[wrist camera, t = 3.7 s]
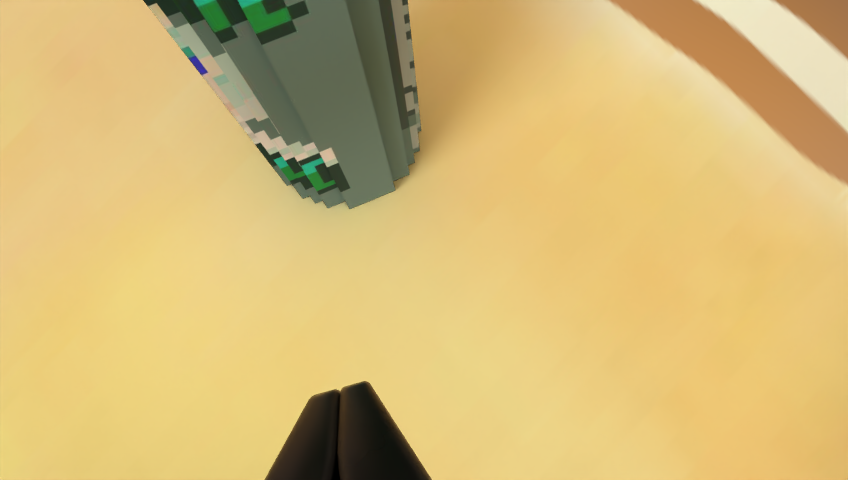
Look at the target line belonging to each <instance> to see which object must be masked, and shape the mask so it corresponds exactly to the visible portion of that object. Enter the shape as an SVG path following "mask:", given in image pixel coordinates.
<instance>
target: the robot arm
mask: <svg viewBox="0 0 848 480" xmlns="http://www.w3.org/2000/svg"><path fill="white" fill-rule="evenodd" d="M265 480H432V479H431V478H430V476H429V475H428V473H427V471H426V470H425V468H424V467H423V465H422V464H421V462H420V461H419V459H418V457H417V456H416V454H415V453H414V451H413V450H412V448H411V447H410V445H409V444H408V442H407V440H406V439H405V437H404V436H403V434H402V433H401V431H400V430H399V428H398V426H397V425H396V423H395V422H394V420H393V419H392V417H391V416H390V414H389V412H388V411H387V409H386V408H385V406H384V405H383V403H382V402H381V400H380V398H379V397H378V395H377V394H376V392H375V391H374V389H373V388H372V386H371V385H370V383H369V382H367V381H363V382H360V383H356V384H352V385H349V386H345V387H343V388H342V389H341V391H339V390H336V389H335V390H331V391H327V392H324V393H320V394H316V395H314V396H312V397H311V398H310V399H309V401H308V402H307V404H306V406H305V408H304V410H303V411H302V413H301V415H300V417H299V419H298V420H297V422H296V424H295V426H294V428H293V429H292V431H291V433H290V435H289V437H288V439H287V440H286V442H285V444H284V446H283V448H282V449H281V451H280V453H279V455H278V457H277V458H276V460H275V462H274V464H273V466H272V467H271V469H270V471H269V473H268V475H267V476H266V478H265Z"/></svg>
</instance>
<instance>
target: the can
mask: <svg viewBox="0 0 848 480" xmlns="http://www.w3.org/2000/svg"><path fill="white" fill-rule="evenodd" d="M143 1H144V2H145V3H146V4H147V6H148V7H149V8H150V10H151V11H152V12H153V13H154V15H155V16H156V17H157V19H158V20H159V21H160V22H161V24H162V25H163V26H164V28H165V29H166V30H167V32H168V33H169V34H170V35H171V37H172V38H173V39H174V41H175V42H176V43H177V44H178V46H179V47H180V48H181V50H182V51H183V52H184V53H185V55H186V56H187V57H188V59H189V60H190V61H191V62H192V64H193V65H194V66H195V68H196V69H197V70H198V71H199V73H200V74H201V75H202V77H203V78H204V79H205V80H206V82H207V83H208V84H209V86H210V87H211V88H212V90H213V91H214V92H215V93H216V95H217V96H218V97H219V99H220V100H221V101H222V102H223V104H224V105H225V106H226V108H227V109H228V110H229V111H230V113H231V114H232V115H233V117H234V118H235V119H236V120H237V122H238V123H239V124H240V126H241V127H242V128H243V129H244V131H245V132H246V133H247V135H248V136H249V137H250V138H251V140H252V141H253V142H254V144H255V145H256V146H257V148H258V149H259V150H260V151H261V153H262V154H263V155H264V157H265V158H266V159H267V160H268V162H269V163H270V164H271V166H272V167H273V168H274V169H275V171H276V172H277V173H278V175H279V176H280V177H281V178H282V180H283V181H284V182H285V184H286V185H287V186H288V185H290V184H292V185H293V186H294V188H295V189H296V190H297V192H298V193H299V194H300V196H301V197H302V198H303V199H304V198H306V197H309V196H310V197H311V198H312V200H313V201H314V202H315V203H318V202H320V201H323V202H324V203H325V205H326V206H327V208H330V207H332V206H335V205H337V204H340V203H342V202H344V201H346V203H347V205H348V207H349V209H352V208H354V207H356V206H359V205H361V204H364V203H366V202H368V201H371V200H373V199H376V198H378V197H381V196H383V195H385V194H388V193H390V192H393V191H395V187H394V184H393V181H395V180H397V179H400V178H402V177H405V176H407V175H410V174H409V168H408V165H410V164H412V163H415V161H414V154H413V153H415V152H418V151H420V147H419V139H418V132H420V131H421V124H420V114H419V105H418V95H417V86H416V76H415V67H414V57H413V48H412V38H411V29H410V19H409V10H408V0H143Z"/></svg>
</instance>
